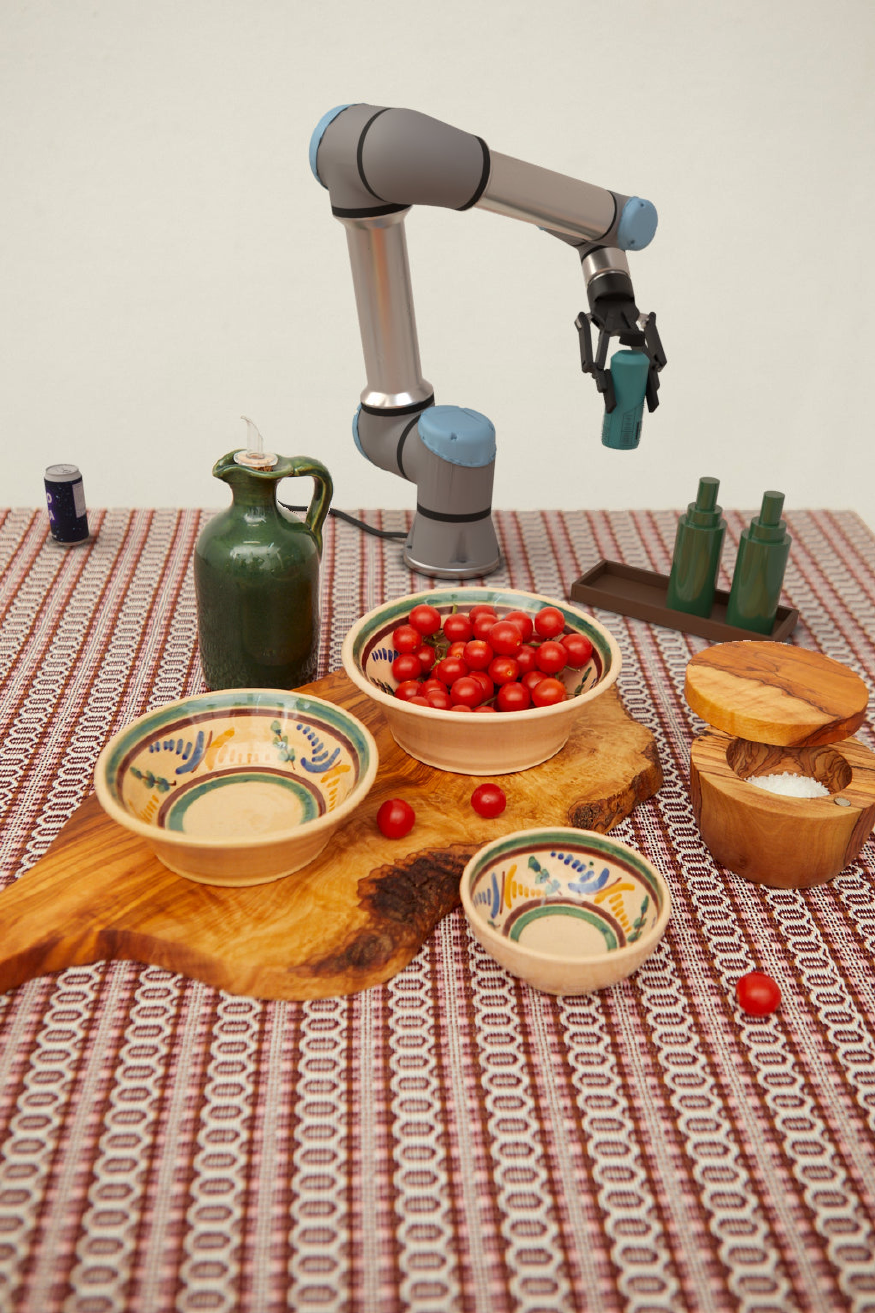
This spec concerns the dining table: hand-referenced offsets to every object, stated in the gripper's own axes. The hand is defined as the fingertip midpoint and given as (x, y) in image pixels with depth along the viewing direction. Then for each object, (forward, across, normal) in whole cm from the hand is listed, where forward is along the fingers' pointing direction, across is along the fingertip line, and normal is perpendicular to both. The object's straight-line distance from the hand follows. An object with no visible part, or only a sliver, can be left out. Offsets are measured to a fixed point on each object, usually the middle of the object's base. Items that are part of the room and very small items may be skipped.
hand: (633, 408), depth 175 cm
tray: (+36, +1, +5) cm, 36 cm away
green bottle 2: (+41, -6, +10) cm, 42 cm away
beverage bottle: (+4, 0, -9) cm, 9 cm away
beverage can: (+9, +89, -24) cm, 92 cm away
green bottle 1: (+36, 0, +6) cm, 37 cm away
